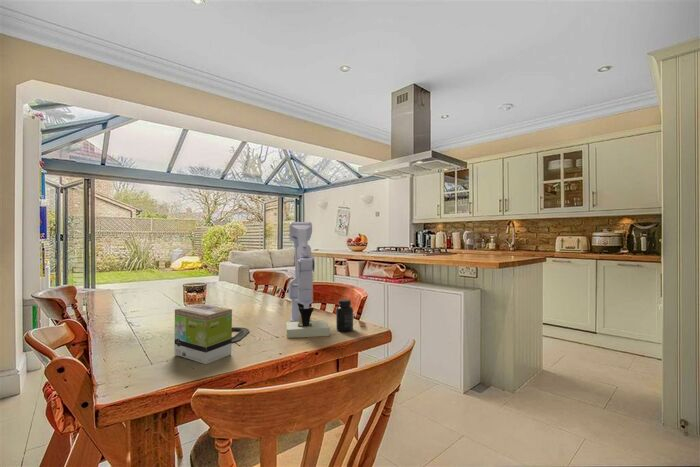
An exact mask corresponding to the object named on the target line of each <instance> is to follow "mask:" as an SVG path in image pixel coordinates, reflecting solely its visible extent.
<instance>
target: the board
mask: <svg viewBox="0 0 700 467" xmlns="http://www.w3.org/2000/svg"><path fill="white" fill-rule="evenodd" d="M285 326H286V327H285V328H286V329H285V330H286V338H287V339H291V338H292V339H294V338H308V337H309V338H310V337H311V338H312V337H313V338H314V337H328V336H330V335H331V330H330V329H331V328H330V326H329V323H328V321H327V320H310V322H309V327H299V321H293V322H291V321H287V322H286V325H285Z"/></svg>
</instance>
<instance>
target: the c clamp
mask: <svg viewBox="0 0 700 467" xmlns="http://www.w3.org/2000/svg"><path fill="white" fill-rule="evenodd" d="M232 332H237V334H235V335H234V336H232V344H234V343H235V344H236V343H238V342H241V340H243V339H244V338H245V337H246V336H247V335H249V333H250V329H249V328H247V327H240V326H239V327H234V326H232Z"/></svg>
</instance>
